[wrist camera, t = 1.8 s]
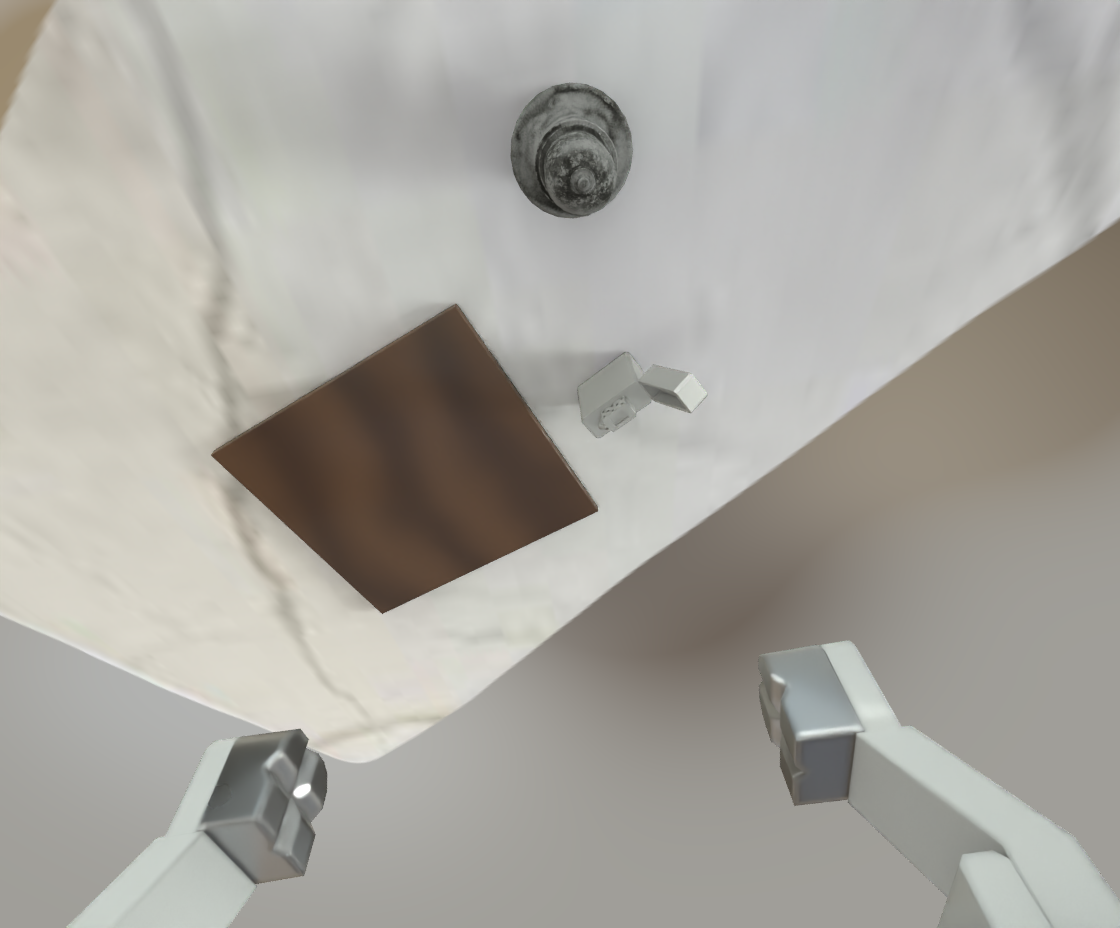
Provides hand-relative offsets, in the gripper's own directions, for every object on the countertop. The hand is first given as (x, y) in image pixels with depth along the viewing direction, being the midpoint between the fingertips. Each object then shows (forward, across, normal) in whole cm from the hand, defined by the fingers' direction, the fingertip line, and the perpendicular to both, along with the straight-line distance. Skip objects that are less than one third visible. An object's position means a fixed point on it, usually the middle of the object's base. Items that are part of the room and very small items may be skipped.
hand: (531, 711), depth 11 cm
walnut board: (+30, +11, +14) cm, 35 cm away
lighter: (+30, -5, +8) cm, 32 cm away
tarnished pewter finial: (+30, -3, -5) cm, 31 cm away
